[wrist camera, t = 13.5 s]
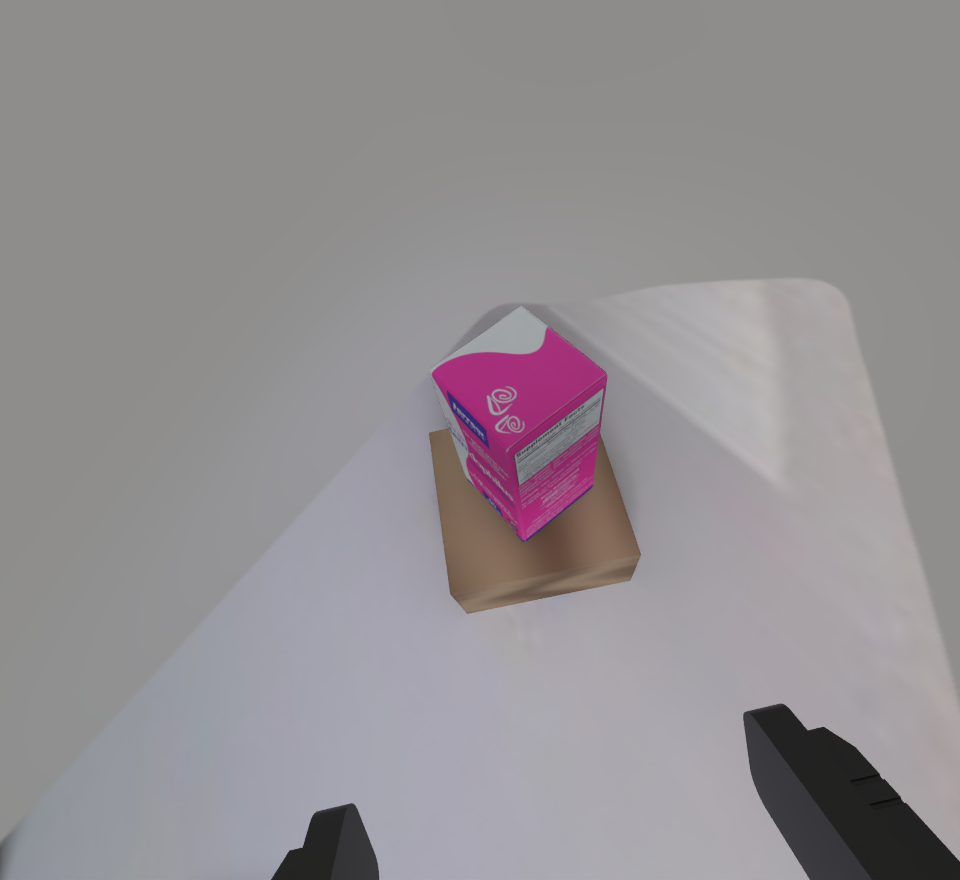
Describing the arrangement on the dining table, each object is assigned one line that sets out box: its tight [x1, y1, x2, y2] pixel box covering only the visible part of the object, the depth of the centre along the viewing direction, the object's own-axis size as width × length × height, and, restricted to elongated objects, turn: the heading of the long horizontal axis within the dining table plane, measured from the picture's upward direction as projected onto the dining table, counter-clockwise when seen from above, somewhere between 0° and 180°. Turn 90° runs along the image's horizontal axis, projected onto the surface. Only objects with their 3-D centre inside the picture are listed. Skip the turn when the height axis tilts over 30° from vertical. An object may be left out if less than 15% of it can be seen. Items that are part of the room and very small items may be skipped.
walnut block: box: [429, 429, 641, 614], centre depth 34 cm, size 11×11×6 cm
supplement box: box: [429, 306, 607, 542], centre depth 27 cm, size 6×6×12 cm
